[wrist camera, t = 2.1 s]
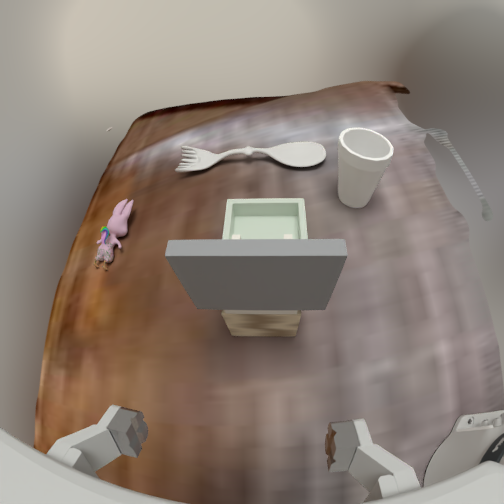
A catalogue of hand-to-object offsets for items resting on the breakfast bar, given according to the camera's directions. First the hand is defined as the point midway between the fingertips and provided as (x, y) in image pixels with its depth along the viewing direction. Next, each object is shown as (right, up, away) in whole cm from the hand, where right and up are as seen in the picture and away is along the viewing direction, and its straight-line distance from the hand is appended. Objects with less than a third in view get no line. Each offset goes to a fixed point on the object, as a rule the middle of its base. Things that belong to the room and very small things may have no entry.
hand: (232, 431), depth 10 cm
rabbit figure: (-25, +10, +41) cm, 49 cm away
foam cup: (+21, +18, +42) cm, 50 cm away
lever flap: (+2, +4, +24) cm, 24 cm away
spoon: (+1, +27, +50) cm, 57 cm away
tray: (+3, +9, +37) cm, 39 cm away
